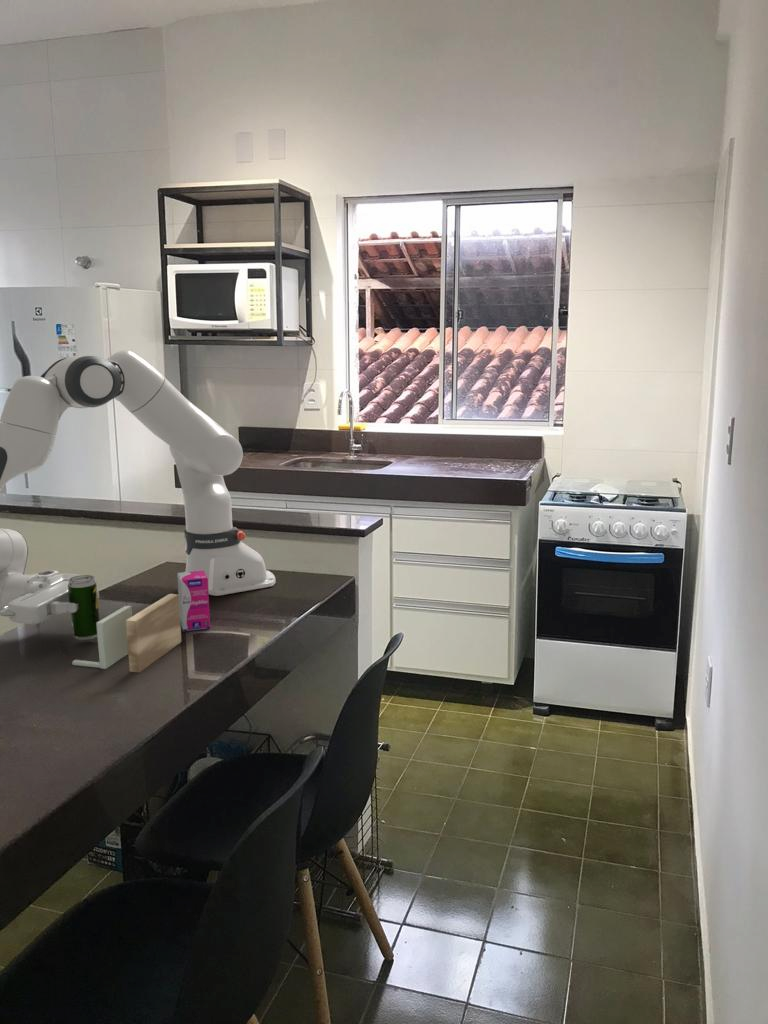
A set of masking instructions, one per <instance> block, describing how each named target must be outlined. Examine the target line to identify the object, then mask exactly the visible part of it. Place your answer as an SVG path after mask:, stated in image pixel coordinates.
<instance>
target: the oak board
mask: <svg viewBox="0 0 768 1024" xmlns="http://www.w3.org/2000/svg"><path fill="white" fill-rule="evenodd" d="M126 629H127V642H128V654H127V655H128V666H129V667H128V669H129V672H130V673H141V672H142V671H144V670H145V669H146V668H148V667H149V666H151V665H152V664H153V663H154V662H156V661H157V660H159V659H160V658H161V657H163V656H165V655H166V654H167V653H169V652H170V651H171V650H172V649H173V648H175V647H176V646H177V645H179V644H181V642H182V627H181V625H180V611H179V595H178V593H177V594H176V593H175V594H174V593H168V594H167V595H165V596H164V597H162V598H160V599H159V600H157V601H155V602H154V603H152V604H150V605H148V606H147V607H146V608H143V609H142V610H141V611H139V612H137V613H135V614H134V615H132V617H130V618H129V619H127V620H126Z"/></svg>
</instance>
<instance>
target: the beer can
mask: <svg viewBox="0 0 768 1024" xmlns="http://www.w3.org/2000/svg"><path fill="white" fill-rule="evenodd" d="M79 575H80V576H75V577H72V578H70V579H69V583H68V593H69V602H71V601H74V602H79V607H80V609H79V610H78V611H76V612H74V613H72V612H69V613H70V622H71V630H72V631H71V632H72V635H73V638H75V639H76V640H77V641H88V640H91V639H95V638H98V637H97V625H96V623H97V622H98V621H100V620H101V619H100V610H99V609H100V607H99V599H98V596H97V591H98V587H97V585H98V584H97V581H96V578H95V576H94V575H92V574H91V575H90V574H79Z"/></svg>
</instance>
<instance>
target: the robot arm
mask: <svg viewBox="0 0 768 1024" xmlns="http://www.w3.org/2000/svg"><path fill="white" fill-rule="evenodd" d="M113 399H115V400H116V401H117V402H119V403H120V404H121V405H122V406H123V407H125V409H126V410H127V411H128V412H130V414H131V415H133V416H134V417H135V418H136V419H137V420H138V421H139V422H140V423H142V425H143V426H144V427H145V428H147V429H148V430H149V431H150V432H151V433H152V434H153V435H154V436H155V437H157V438H159V439H160V440H162V441H163V442H165V443H166V444H167V445H168V446H169V450H170V451H169V452H170V454H171V456H172V458H173V460H174V463H175V467H176V471H177V474H178V475H177V476H178V478H179V483H180V486H181V491H182V495H183V502H184V512H185V513H184V516H185V517H184V518H185V530H184V536H183V539H184V540H183V541H184V551H185V554H186V563H185V571H184V572H192V571H205V574H206V576H207V578H208V592H209V595H210V596H214V597H215V596H216V597H217V596H219V597H220V596H225V595H229V594H235V593H240V592H247V591H254V590H258V589H265V588H269V587H273V586H275V584H276V576H275V575H274V573H273V572H271V571H270V570H268V569H266V564H265V561H264V559H263V557H262V555H261V554H260V553H259V552H257V551H256V550H254V549H253V548H252V547H250V546H248V545H247V544H246V543H244V542H242V541H244V540H245V539H246V537H247V536H246V533H245V532H244V531H242V530H241V529H239V528H237V527H236V526H233V512H232V509H233V508H232V497H231V493H230V491H229V490H228V488H227V486H226V483H225V479H224V476H228V475H232V474H233V473H234V472H236V471H237V470H238V469H239V467H240V466H241V464H242V461H243V457H244V452H243V447H242V444H241V443H240V441H238V439H236V437H234V436H233V435H232V434H230V433H229V432H228V431H227V430H226V429H224V428H223V427H222V426H221V425H220V424H219V423H217V422H216V421H215V420H214V419H212V417H210V416H209V415H207V414H206V413H205V412H204V411H202V409H200V408H199V407H197V406H196V405H195V404H194V403H192V402H191V401H190V400H189V399H187V397H185V396H184V395H183V394H182V393H181V392H180V391H179V390H178V389H177V388H176V387H175V386H174V385H173V384H172V383H171V382H170V381H169V379H167V378H166V376H164V375H163V374H162V373H161V372H160V371H159V370H158V369H157V368H156V367H154V366H153V365H152V364H150V363H149V362H148V361H146V359H144V358H143V357H141V356H139V355H138V354H136V352H133V351H131V350H129V349H128V350H126V349H125V350H119V351H117V352H115V353H113V354H112V355H110V356H109V357H108V358H107V359H106V358H102V357H99V356H94V355H73V356H69V357H65V358H60V359H59V360H57V361H55V362H54V363H53V364H51V365H50V366H49V367H48V368H47V369H46V370H45V371H44V372H42V374H41V375H40V376H38V375H26V376H25V375H24V376H22V377H21V376H20V378H18V379H17V380H16V381H14V384H13V385H12V387H11V389H10V391H9V393H8V396H7V397H6V400H5V403H4V406H3V407H2V408H3V409H2V411H1V412H2V413H1V416H0V492H1V490H2V489H3V488H4V487H5V485H6V484H7V483H9V481H11V480H13V479H14V478H16V477H20V476H21V475H24V474H28V473H30V472H31V473H32V472H33V471H35V470H37V469H40V468H41V467H43V466H44V465H45V464H46V463H47V461H48V460H49V459H50V456H51V453H52V451H53V448H54V444H55V440H56V435H57V431H58V426H59V421H60V420H61V417H62V416H63V414H64V412H65V411H66V410H68V409H69V408H74V409H87V408H98V407H102V406H104V405H106V404H108V403H109V402H110V401H113ZM28 555H29V546H28V544H27V540H26V538H25V537H24V535H23V534H22V533H20V532H19V531H18V530H16V529H13V528H2V527H0V617H7V618H8V619H9V621H10V622H13V623H18V624H26V625H36V624H37V625H38V624H40V623H42V622H44V621H46V620H47V619H49V618H51V617H53V616H54V615H59V614H65V613H70V612H72V613H74V612H76V611H78V610H79V609H80V607H79V602H74V601H71V602H69V593H68V583H69V579H70V578H72V577H75V576H80V575H81V574H75V573H60V572H59V571H58V570H46V571H42V572H39V573H27V574H25V570H26V566H27V562H28V561H27V560H28ZM97 596H98V600H99V599H100V592H99V591H98V590H97Z"/></svg>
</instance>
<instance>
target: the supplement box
mask: <svg viewBox="0 0 768 1024" xmlns="http://www.w3.org/2000/svg"><path fill="white" fill-rule="evenodd" d="M176 575H177V591H178V593H177V594H178V595H179V611H180V627H181V632H189V631H197V630H198V631H199V630H209V629H210V628H211V618H210V600H209V599H210V597H209V595H210V594H209V592H208V578H207V576H206V574H205V571H192V572H185V571H183V572H182V571H181V572H177V574H176Z"/></svg>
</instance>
